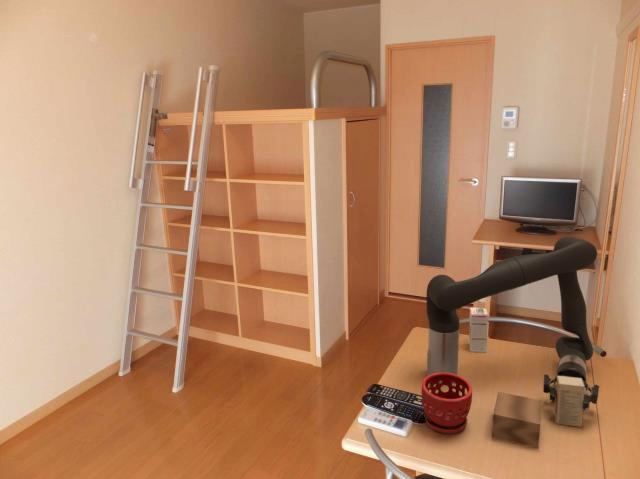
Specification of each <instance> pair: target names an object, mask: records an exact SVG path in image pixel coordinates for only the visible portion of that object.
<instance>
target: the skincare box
mask: <svg viewBox="0 0 640 479" xmlns="http://www.w3.org/2000/svg"><path fill="white" fill-rule="evenodd" d="M556 377H557V386H556V398H555V404H554V420H555V424H559V425H565V426H571V427H572V426H574V427H580V428H581V427H582V423H583V413H584V412H583V410H584V409H583V400H584V388H585V386H584V383H583V380H582V378H576V377H566V376H557V375H556Z"/></svg>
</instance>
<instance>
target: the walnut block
mask: <svg viewBox="0 0 640 479" xmlns="http://www.w3.org/2000/svg"><path fill="white" fill-rule="evenodd" d="M542 403H543V401H542V400H541V399H537V398H533V397H527V396H522V395H517V394H512V393H506V392H502V391H497V395H496V400H495V403H494V404H495V405H494V410H493V414H492V415H493V416H492V431H491V438H495V439H499V440H502V441H508V442H512V443H516V444H520V445H523V446H524V445H525V446H528V447H532V448H536V449H537V448H538V449H539V447H540V446H539V444H540V436H541V435H540V433H541V422H542V421H541V419H542Z"/></svg>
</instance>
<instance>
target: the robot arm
mask: <svg viewBox="0 0 640 479" xmlns="http://www.w3.org/2000/svg"><path fill="white" fill-rule="evenodd" d="M597 257H598V250H597V247H596V246H595V245H594V244H593V243H592V242H590V241H588V240H585V239H582V238H578V237H574V236H569V235H568V236H563V237H561V238H559V239H558V240H557V241H556V242H555V244H554V246H553V251H550V252H545V253H534V254H533V253H532V254H521V255H515V256H511V257H508V258H505V259H503V260H499V261H497V262H495V263H492V264H491V265H489V266H488V267H487V268H486V269H485V270H484V271H482V272H481V273H480V274H479V275H476V276H473V277H471V278H468V279H463V280H458V281H456V280H454V279H453V278H452V277H451V276H449V275H446V274H438V275H435V276H433V277H432V278H431V279H430V281H429V282H428V284H427V286H426V315H427V316H426V317H427V319H428V320H427V321H428V341H427V342H428V345H427V351H426V377H427V376H428V375H431V374H434V373H442V372H445V373H452V374H455V375H458V376H459V374H458V373H459V370H458V369H459V350H460V349H459V346H460V345H459V343H460V317H459V316H458V312H457V310H459V309H462V308H464V307H467V306H468V305H471V304H472V303H475V302H477V301H480V300H482V299H485V298H488V297H492V296H495V295H497V294H501V293H503V292H508V291H512V290H514V289H518V288H520V287H523V286H527V285H529V284H533V283H535V282H536V283H537V282H539V281H543V280H545V279H549V278H551V277H554V276H557V281H558V288H559V296H560V306H561V307H560V309H561V312H560V314H561V316H560V317H561V318H560V319H561V320H560V321H561V328H562V330H564V331H566V332H569V333H572V334H573V335H576V336H577V337H574V336H560V337H559V338H557V340H556V342H555V352H556V354H557V356H558V358H559V363H558V366H557V371H556V376H555V377H550V375H548V374H544V376H543V390H542V391H543V393H545V394H549V400H550V401H551V403H555V401H556V386H557V376H566V377H576V378H582V380H583V383H584V386H585V388H584V400H583V410H585V411H586V410H587V409H590V403H592V404H593V405H596V404H598V400H599V398H598V397H599V392H600V390H599V389H600V385H598V384H594V385H593V386H592V385H589V384H588V383H587V375H588V374H587V372H588V371H587V361H589V360H591V359H592V357H593V356H594V348H593V344H592V342H591V339H590V335H589V333H588V327H587V306H586V300H585V297H584V294H583V291H582V289H581V286H580V282H579V278H578V271H582V270H585V269H587V268H589V267H591V266H592V265H593V264H594V263H595V262H596V260H597ZM439 383H442V381H439ZM453 383H454V382H452V384H453Z"/></svg>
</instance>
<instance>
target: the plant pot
mask: <svg viewBox="0 0 640 479" xmlns="http://www.w3.org/2000/svg"><path fill="white" fill-rule="evenodd" d="M439 381H442V383H439ZM452 382H453V383H454V384H455V385H453V383H452ZM434 385H435V386H434ZM444 386H446V387H447V388H448V390H447V391H444V390H442V387H444ZM420 390H421V404H422V407H423V410H424V411H423V414H425V413H426V415H427V416H428V419H427V420H426V422H425V424H426V425H427V426H428V427H429V428H430V429H432V430H434V431H436V432H439V433H442V434H456V433H458V432H461V431H462V430H464V429H465V428H466V426H467V425H468V417H467V416H468V415H469V414H470V410H471V407H472V400H473V386H472V384H471V382H470V381H468V379H466V378H464V377H462V376H461V375H459V374H458V375H455V374H452V373H445V372H442V373H434V374H431V375H428V376H427V375H426V376H425V377H424V378H423V380H422V382H421V389H420ZM436 391H438V392H436ZM460 393H461V395H460ZM466 393H467V394H466Z"/></svg>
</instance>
